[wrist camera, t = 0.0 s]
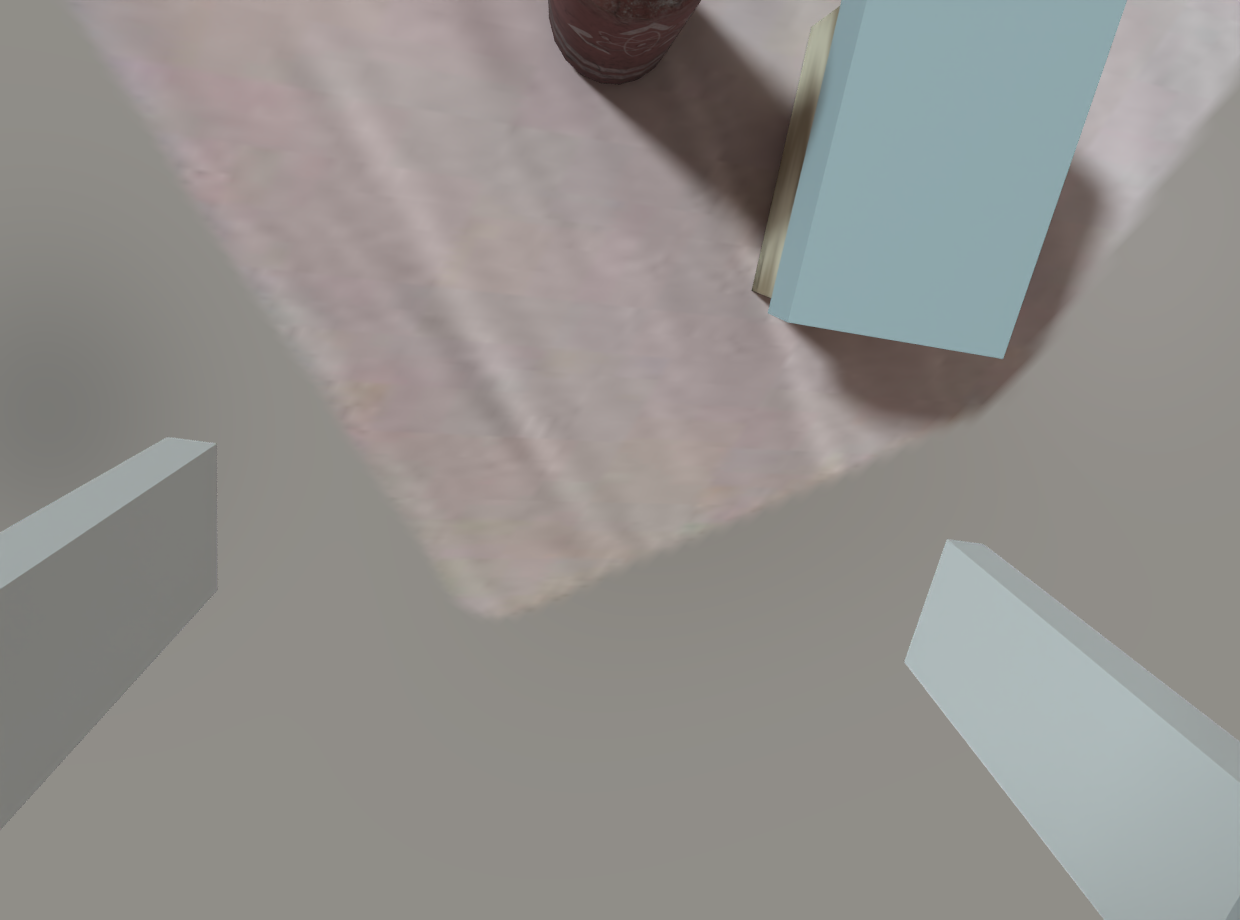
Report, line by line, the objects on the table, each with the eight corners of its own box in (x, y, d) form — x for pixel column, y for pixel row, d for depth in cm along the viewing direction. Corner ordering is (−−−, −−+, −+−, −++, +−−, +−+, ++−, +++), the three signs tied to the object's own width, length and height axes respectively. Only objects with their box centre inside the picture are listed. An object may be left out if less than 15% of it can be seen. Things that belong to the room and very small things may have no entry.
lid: (827, -17, 31) (882, -64, 26) (1035, 33, 32) (1127, -3, 27) (753, 306, 35) (787, 322, 30) (939, 338, 36) (1003, 359, 31)
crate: (811, 27, 35) (869, -17, 29) (959, 60, 36) (1047, 26, 30) (751, 290, 39) (791, 305, 33) (886, 313, 40) (950, 333, 34)
